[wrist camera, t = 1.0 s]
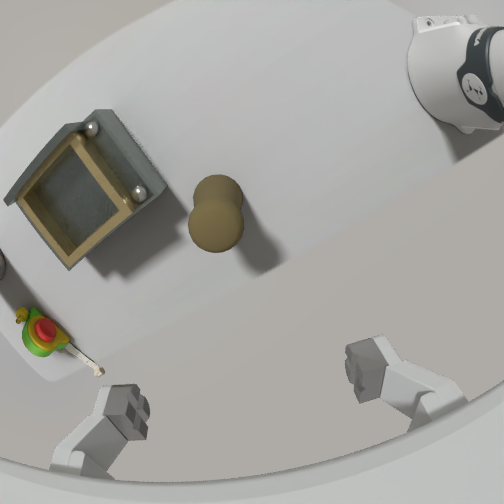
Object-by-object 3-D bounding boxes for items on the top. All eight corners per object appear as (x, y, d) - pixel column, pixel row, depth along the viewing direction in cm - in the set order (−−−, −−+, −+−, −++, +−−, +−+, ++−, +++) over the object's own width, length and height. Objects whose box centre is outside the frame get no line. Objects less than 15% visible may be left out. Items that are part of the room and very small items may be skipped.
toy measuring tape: (30, 292, 40) (11, 314, 34) (112, 365, 48) (103, 392, 42) (17, 309, 41) (0, 331, 35) (94, 377, 49) (85, 402, 43)
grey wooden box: (111, 109, 31) (79, 109, 22) (167, 185, 35) (150, 206, 27) (33, 189, 33) (-4, 210, 25) (83, 254, 38) (55, 287, 30)
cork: (230, 229, 39) (232, 271, 29) (185, 211, 37) (172, 248, 27) (251, 186, 36) (261, 215, 26) (204, 166, 35) (196, 188, 25)
